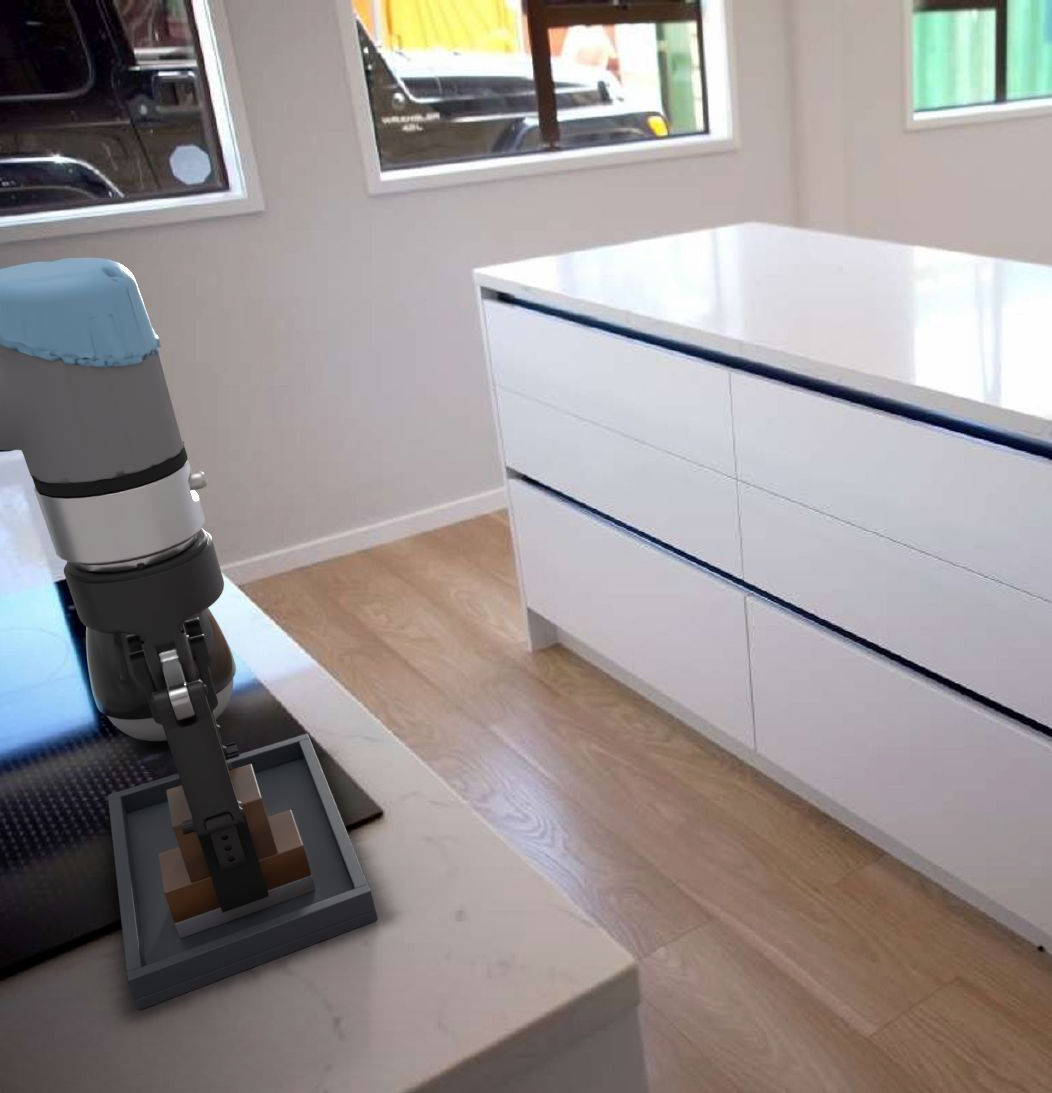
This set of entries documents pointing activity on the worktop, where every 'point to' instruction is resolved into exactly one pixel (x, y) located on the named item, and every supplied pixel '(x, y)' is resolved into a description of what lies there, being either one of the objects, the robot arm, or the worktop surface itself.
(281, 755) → the tray
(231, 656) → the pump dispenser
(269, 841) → the brown t-shaped block
